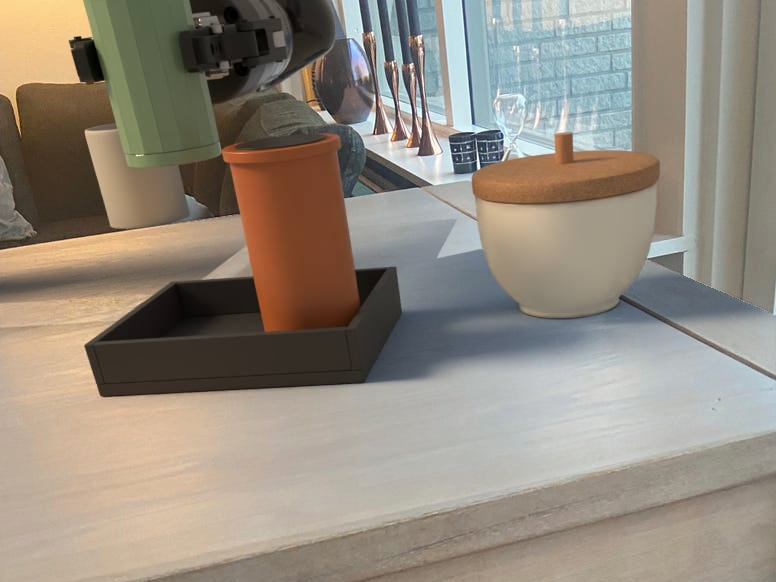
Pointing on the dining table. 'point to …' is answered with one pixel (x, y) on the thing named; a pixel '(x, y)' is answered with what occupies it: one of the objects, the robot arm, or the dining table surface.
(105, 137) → the mug
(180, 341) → the dark shallow tray
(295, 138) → the pot
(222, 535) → the dining table surface
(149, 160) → the cup
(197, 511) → the dining table surface
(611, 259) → the lidded bowl
